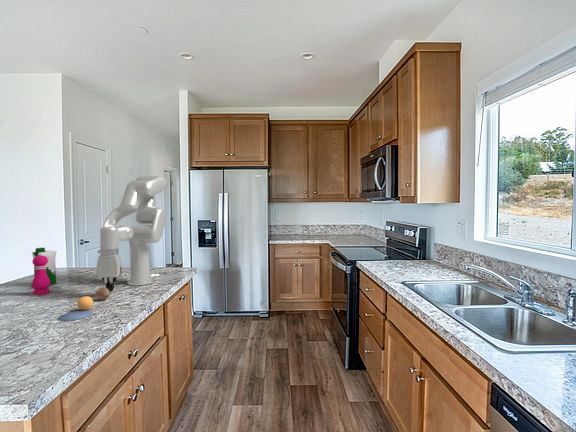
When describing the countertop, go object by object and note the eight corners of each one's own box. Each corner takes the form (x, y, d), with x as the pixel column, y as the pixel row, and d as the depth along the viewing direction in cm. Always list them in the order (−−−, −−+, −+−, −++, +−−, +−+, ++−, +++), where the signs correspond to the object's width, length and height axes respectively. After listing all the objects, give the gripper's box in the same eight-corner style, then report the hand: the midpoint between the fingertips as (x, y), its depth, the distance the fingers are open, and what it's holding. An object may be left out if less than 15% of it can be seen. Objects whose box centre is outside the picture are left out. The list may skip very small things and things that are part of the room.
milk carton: (30, 286, 170) (29, 248, 170) (48, 282, 179) (47, 246, 178) (42, 287, 168) (41, 249, 167) (59, 283, 176) (58, 246, 175)
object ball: (91, 306, 136) (91, 293, 136) (94, 309, 132) (94, 296, 132) (76, 309, 132) (75, 296, 132) (79, 313, 128) (78, 299, 128)
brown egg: (107, 297, 150) (107, 285, 149) (111, 299, 146) (111, 287, 146) (94, 299, 146) (94, 287, 146) (97, 302, 142) (97, 289, 142)
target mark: (88, 309, 133) (88, 308, 133) (95, 315, 125) (95, 315, 125) (55, 315, 125) (55, 315, 125) (60, 323, 117) (60, 322, 117)
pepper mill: (40, 296, 152) (39, 253, 151) (27, 295, 153) (26, 253, 153) (54, 291, 159) (53, 251, 158) (42, 291, 160) (41, 251, 160)
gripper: (88, 253, 148) (89, 293, 149) (122, 253, 149) (122, 293, 149) (97, 251, 156) (97, 289, 156) (129, 251, 157) (129, 289, 157)
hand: (109, 291), depth 153 cm, fingers closed
